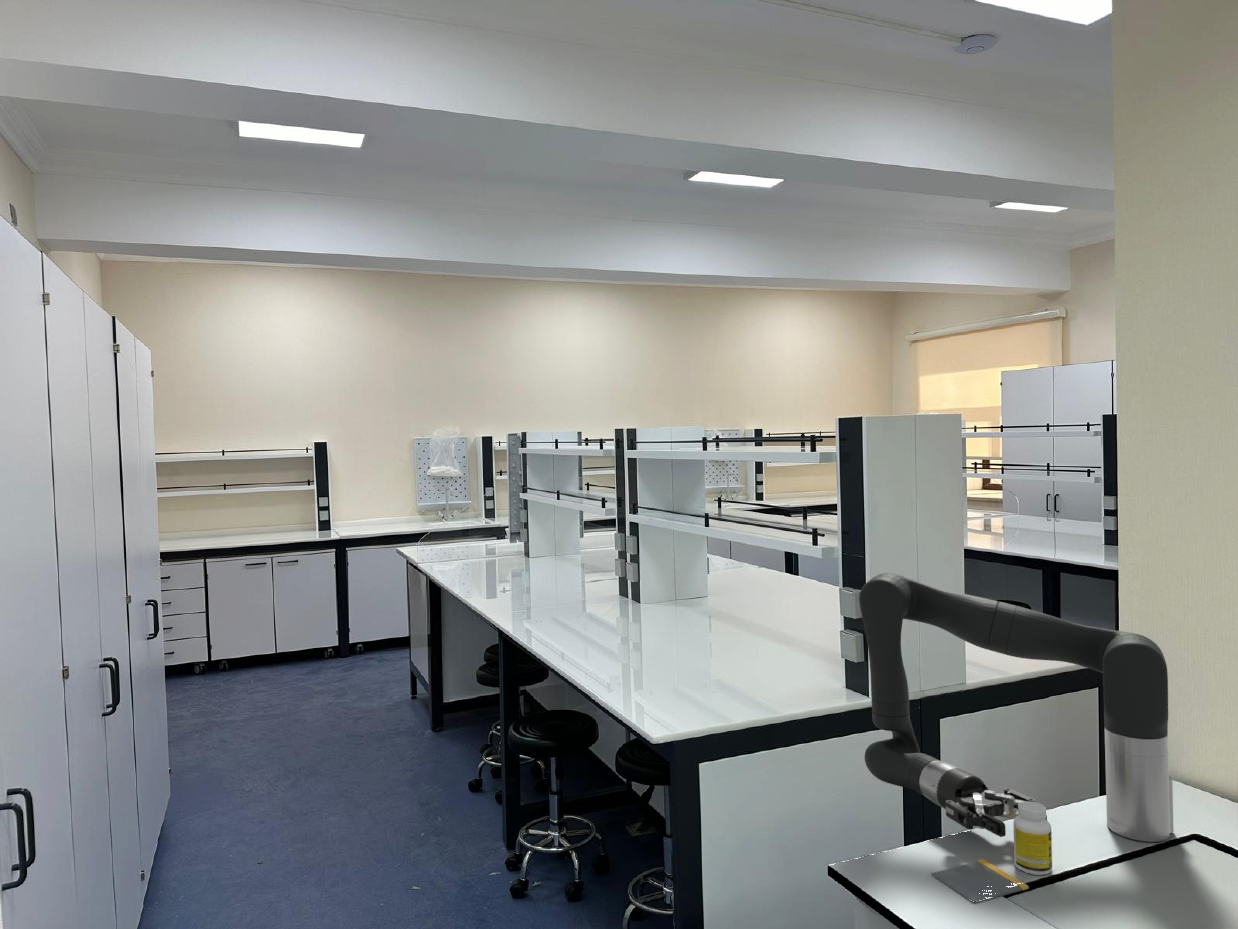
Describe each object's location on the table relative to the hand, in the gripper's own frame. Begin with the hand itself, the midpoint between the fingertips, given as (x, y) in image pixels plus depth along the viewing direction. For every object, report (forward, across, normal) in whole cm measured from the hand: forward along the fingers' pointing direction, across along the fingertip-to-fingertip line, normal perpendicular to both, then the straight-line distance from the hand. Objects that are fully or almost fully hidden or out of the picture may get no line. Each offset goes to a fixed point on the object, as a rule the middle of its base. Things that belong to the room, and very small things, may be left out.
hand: (1024, 826), depth 133 cm
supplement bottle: (+1, 0, +6) cm, 6 cm away
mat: (+2, -12, +6) cm, 13 cm away
